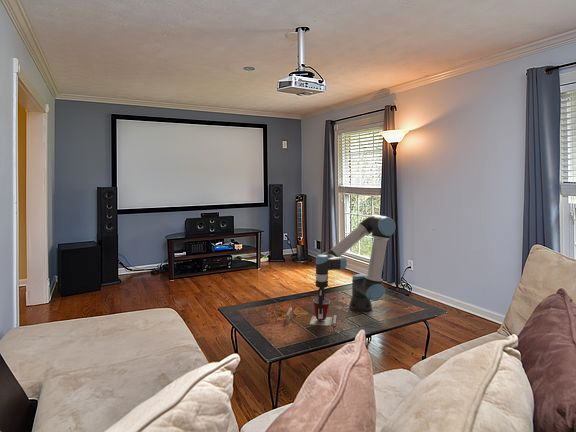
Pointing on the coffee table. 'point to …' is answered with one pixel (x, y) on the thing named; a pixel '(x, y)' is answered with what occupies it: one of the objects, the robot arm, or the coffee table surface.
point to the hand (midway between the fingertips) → (321, 315)
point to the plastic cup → (325, 306)
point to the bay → (314, 319)
